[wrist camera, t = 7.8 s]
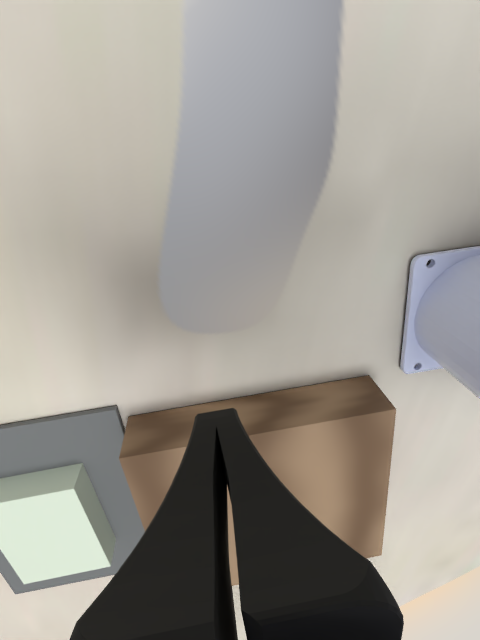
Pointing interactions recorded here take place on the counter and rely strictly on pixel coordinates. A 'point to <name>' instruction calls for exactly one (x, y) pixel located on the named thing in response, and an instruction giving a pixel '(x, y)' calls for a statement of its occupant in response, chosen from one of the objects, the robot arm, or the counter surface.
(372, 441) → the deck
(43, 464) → the mat
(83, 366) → the counter surface
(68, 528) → the tile
